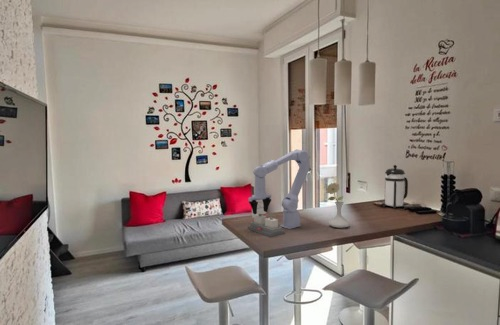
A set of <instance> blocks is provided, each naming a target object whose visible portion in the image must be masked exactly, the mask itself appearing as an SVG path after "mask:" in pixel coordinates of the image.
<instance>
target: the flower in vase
mask: <svg viewBox="0 0 500 325" xmlns="http://www.w3.org/2000/svg"><path fill="white" fill-rule="evenodd" d="M339 190H340V184H339V183H337V182H331V183H329V184H328V185H327V186H326V188H325V191H326V193H327V194H330V195H331V194H334V196H330V197H328V199H327V200H330V201H334V200H335V202H334V203H335V206H336V215H335V216H334V217H333V218H331V219H330V220H329V221H328V225H329V226H330V227H333V228H338V229H339V228H341V229H342V228H348V227H349V226H350V222H349V221H348V220H347V219H346V218H345V217H344V216H343V215H342V208H343V206H344V201H342V200H343V198H344V195H342V196H339V197H338V198H336V194H335V193H337V192H338V191H339Z"/></svg>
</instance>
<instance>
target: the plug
mask: <svg viewBox="0 0 500 325" xmlns="http://www.w3.org/2000/svg"><path fill="white" fill-rule="evenodd" d="M266 218H267V217H266V216H264V215H262V214H258V215H254V218H253V222H254V223H255V224H258V225H264V224H265V219H266Z"/></svg>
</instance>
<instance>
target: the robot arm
mask: <svg viewBox="0 0 500 325" xmlns="http://www.w3.org/2000/svg"><path fill="white" fill-rule="evenodd" d="M310 158H311V155H310V153H309V152H308V151H307V150H305V149H294V150H292V151H290V152H287V153H286V154H285V155H283V156H281V157H279V158H277V159H276V160H275V159H268V161H267V162H265V163H261V164H260V165H258V166H255V167H254V169H253V172H252V173H253V175H254V195H255V196H253V197H252V196H250V197H248V203H249V205H250V207H251V211H252V210H253V214H257V204H258V202H256V200H261V199H262V200H263V206H264V211H265V212H268V210H269V207H270V204H271V202H272V194H269V193H268V194H266V176H267V174H270V173H272V172H274V171H276V170H278V167H279V166H281V165H283V164H286V163H287V162H289V161H295V163H297V166H298V170H297V173H296V175H295V177H294V179H293V182H292V185H291V187H290V188H289V191H288V193H287V194H286V195H285V197H284V199H282V200H281V206H282V208H283V209H282V224H280V225H279V226H280V227H282V228H285V229H289V230H291V229H295V228H298V227H302V225H301V214H300V211H299V210H298V208H299V205H298V204H299V195H300V193H301V190H302V187H303V184H304V183H305V180H306V178H307V176H308V173H309V170H310V167H311V164H310Z"/></svg>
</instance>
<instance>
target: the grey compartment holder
mask: <svg viewBox="0 0 500 325" xmlns="http://www.w3.org/2000/svg"><path fill="white" fill-rule="evenodd" d="M249 224H250V225H248V226H247V229H248V230H249V231H253V232H255V233H258V234H261V235H263V236H266V237H269V238H272V237H277V236H281V235H284V234H286V233H285V231H286V230H283V227H281V226H280V225H279V219H278V218H274V217H272V216H270V217H266V219H265V224H264V225H258V224H255V223H254V221H251V222H250V223H249Z"/></svg>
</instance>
